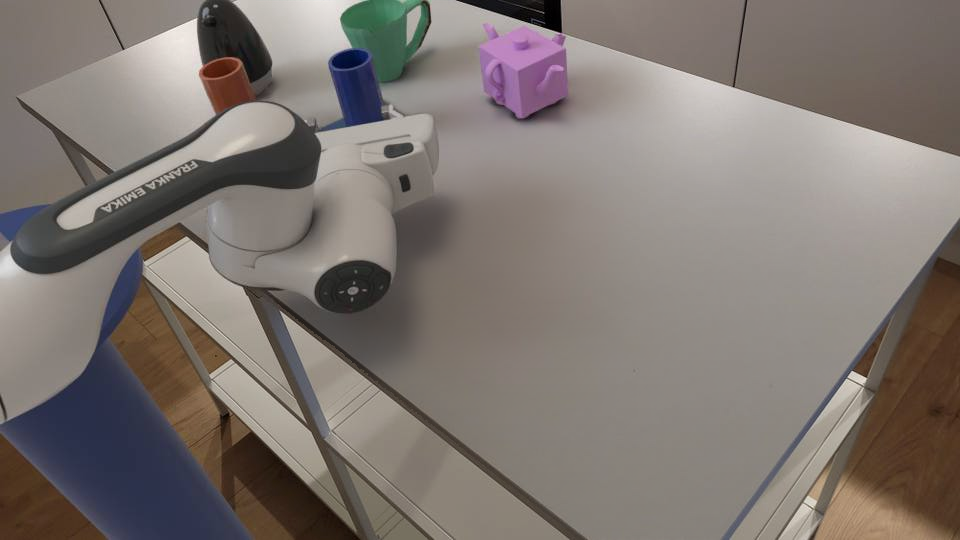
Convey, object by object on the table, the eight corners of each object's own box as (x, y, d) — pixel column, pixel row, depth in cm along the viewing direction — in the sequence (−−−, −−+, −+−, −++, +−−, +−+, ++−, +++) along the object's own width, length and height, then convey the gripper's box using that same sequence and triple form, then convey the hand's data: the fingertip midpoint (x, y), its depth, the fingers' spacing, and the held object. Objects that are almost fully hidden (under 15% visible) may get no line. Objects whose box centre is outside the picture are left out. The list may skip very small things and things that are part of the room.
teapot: (607, 106, 104) (607, 40, 97) (530, 145, 99) (524, 79, 93) (529, 59, 115) (524, -3, 108) (457, 92, 111) (447, 30, 104)
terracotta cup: (236, 153, 106) (207, 84, 98) (222, 136, 110) (192, 68, 102) (274, 136, 108) (248, 67, 100) (258, 120, 112) (232, 52, 104)
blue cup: (360, 147, 103) (340, 75, 96) (341, 129, 107) (320, 59, 99) (396, 129, 105) (379, 58, 98) (376, 113, 109) (359, 43, 101)
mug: (379, 98, 112) (363, 36, 105) (343, 76, 118) (327, 16, 111) (455, 58, 118) (445, -4, 111) (417, 39, 124) (406, -20, 117)
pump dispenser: (207, 112, 116) (166, 19, 105) (225, 76, 123) (189, -14, 113) (271, 106, 115) (236, 11, 104) (286, 70, 122) (254, -21, 111)
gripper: (264, 226, 83) (272, 153, 93) (447, 192, 83) (436, 123, 93) (245, 180, 79) (255, 109, 89) (438, 145, 79) (427, 78, 89)
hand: (349, 116), depth 91 cm, fingers open, 8 cm apart
